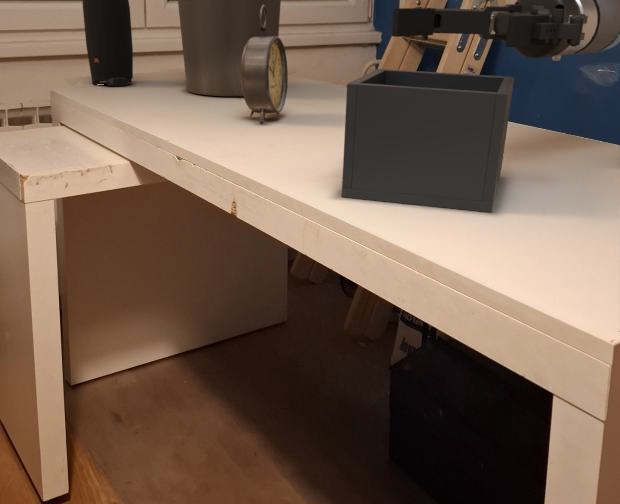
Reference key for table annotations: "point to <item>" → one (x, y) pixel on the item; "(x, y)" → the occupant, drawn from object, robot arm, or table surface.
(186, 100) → the table surface
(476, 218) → the table surface
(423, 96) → the bin
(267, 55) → the alarm clock
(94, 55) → the portable speaker
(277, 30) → the waste basket
